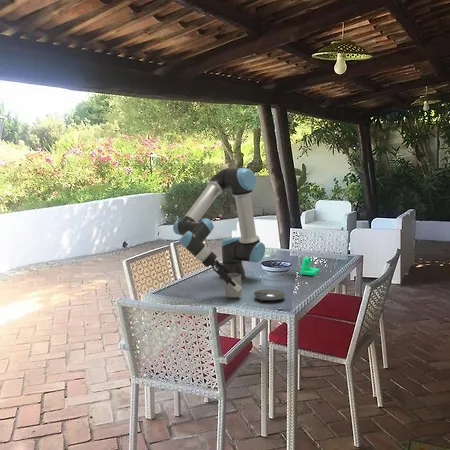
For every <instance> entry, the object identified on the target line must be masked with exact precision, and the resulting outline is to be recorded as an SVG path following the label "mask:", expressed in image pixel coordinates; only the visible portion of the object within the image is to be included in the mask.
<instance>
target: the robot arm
mask: <svg viewBox="0 0 450 450" xmlns="http://www.w3.org/2000/svg"><path fill="white" fill-rule="evenodd" d="M256 179H257V178H256V176H255V174H254V172H253V171H252V170H251V169H249V168H243V167H239V168H238V167H235V168H231V167H230V168H229V167H226V168H224V169H221V170H219V171H217V172H216V173H215V174H214V175H213V176H212V177H211V178H210V179H209V180H208V182H207V183H206V187H205V189H204V190H203V191H202V192H201V194H200V195H199V197H198V198H197V199H196V200H195V202H194V203H193V204H192V206H191V207H190V208H189V210H188V211H187V213H186V214H185V215H184V217H182V219H181V220H180V219H179V220H176V221H174V223H173V225H172V230H173V232H174V233H175V234H176V235H179V236H181V237H180V238H179V243H180V244H181V245H182V246H183V247H184V248H185V250H187V251H188V252H189V253H190V254H192V256H194V257H195V259H196V260H198V261H199V262H201V263H202V264H203V266H204V267H206V268H209V267H210V266H211V268H212V270H213V271H214V272H215V273H216V274H218V275H219V277H220V278H221V279H223V280H225V281H226V284H228V283H229V284H230V285H231V286H232V287H233V288H234V289H235V290H236V291H239V290H240V289H241V290H242V289H243V287H242V285H241V286H240V285H238V284H237V283H236V282H235V281H234V280H233V279H231V278H230V277H229V276H228V275H227V274H228V273H238V274H241V279H243V278H246V271H245V268H244V265H243V262H248V263H259V262H261V261H262V260H263V258H264V256H265V253H266V246H265V244H264V243H263V242H261V240H260V237H259V235H257V231H256V224H255V223H256V222H255V219H254V218H255V217H254V211H253V203H252V197H251V194H252V193H253V192H254V191H253V190H254V188H255V187H256V184H257V183H256V181H257V180H256ZM226 190H230V192H231V193H230V194H231V196H233V197H234V199H235V207H236V211H237V219H238V224H239V225H238V226H239V231H240V236H233V237H227V238H224V239H222V241H221V256H222V257H221V260H222V263H220V262H219V261H218V259H217V255H216V254H215V253H214V252H213V251H211V249H210V248H209V247H208V246H207V245H206V244H204V241H205V240H206V239H207V238H208V236H209V235H210V234H211V233H212V231H213V229H214V228H215V225H214V224H213V222H212V220H210V219H209V218H208V217H207V218H203V216H204V215H205V213H206V212H207V211H208V209H209V208H210V207H211V205H212V204H213V202H214V201H215V200H216V198H217V197H218V196H219V195H221V194H222V193H223V192H224V191H226ZM227 279H228V280H227Z"/></svg>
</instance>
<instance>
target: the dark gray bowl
mask: <svg viewBox="0 0 450 450" xmlns="http://www.w3.org/2000/svg"><path fill="white" fill-rule="evenodd" d="M253 295H254V296H253V297H254V298H255V299H257V300H259V302H260V303H266V302H267V301H279V302H280V301H283V300H284V298H285V297H286V293H285V292H284V291H283V290H280V289H275V288H273V289H271V288H270V289H267V288H266V289H259V290H256V291H255V292H254V294H253Z"/></svg>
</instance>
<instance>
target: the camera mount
mask: <svg viewBox="0 0 450 450" xmlns="http://www.w3.org/2000/svg"><path fill="white" fill-rule="evenodd" d="M311 263H312V258H311V257H309V256H304V257H303V258H302V263H301V267H300V271H299V272H300V275H305V276H306V275H307V276H317V275H319V272H320V271H321V269H320V268H315V267H311Z"/></svg>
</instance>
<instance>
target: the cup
mask: <svg viewBox="0 0 450 450" xmlns="http://www.w3.org/2000/svg"><path fill="white" fill-rule="evenodd" d="M227 275H228V276H229V277H230V278H231V279H233V280H234V281H235V282H236V283H237V284H238V285H240V286H241V287H242V278H241V274H238V273H228V274H227ZM223 280H224V279H223ZM227 280H228V279H227ZM223 285H224V296H225V297H228V298H238V297H241V296H242V288H241V289H240V290H239V291H236V290H235V289H234V288H233V287H232V286H231V285H230V284H229V283H228V284H226V281H225V280H224V284H223Z"/></svg>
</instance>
